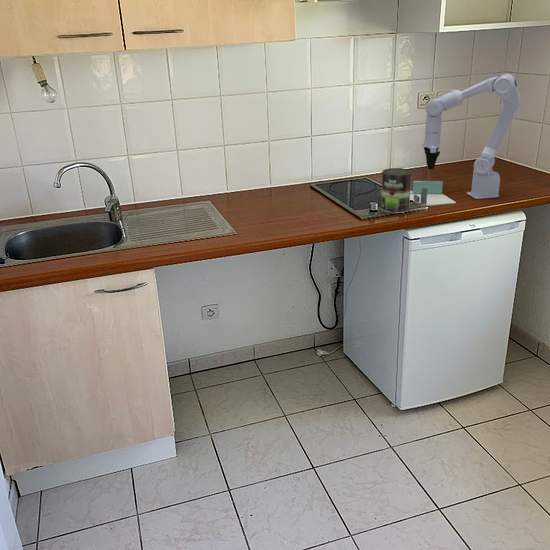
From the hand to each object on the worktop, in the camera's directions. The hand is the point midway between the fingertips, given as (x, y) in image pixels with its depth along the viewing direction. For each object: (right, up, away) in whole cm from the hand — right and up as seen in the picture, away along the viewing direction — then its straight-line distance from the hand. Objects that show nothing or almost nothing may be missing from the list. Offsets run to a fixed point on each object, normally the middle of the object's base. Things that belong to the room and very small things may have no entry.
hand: (430, 167), depth 226 cm
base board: (-3, -12, -4) cm, 14 cm away
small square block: (-7, -15, -10) cm, 20 cm away
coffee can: (-17, -19, -16) cm, 30 cm away
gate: (-1, -10, -1) cm, 10 cm away
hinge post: (-8, -10, +1) cm, 13 cm away
